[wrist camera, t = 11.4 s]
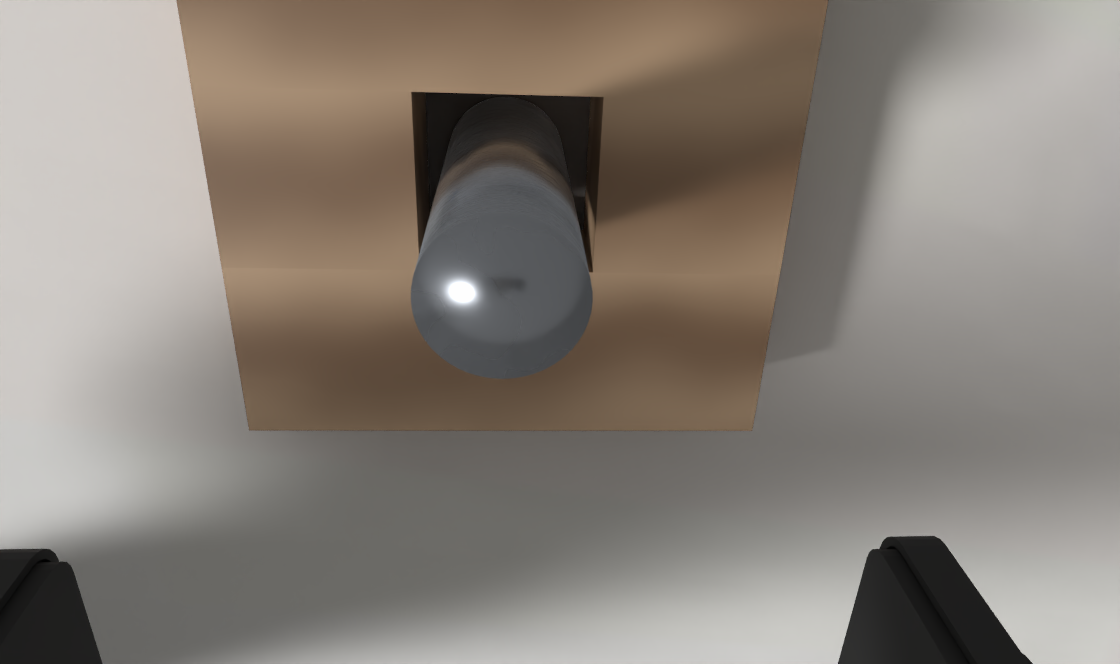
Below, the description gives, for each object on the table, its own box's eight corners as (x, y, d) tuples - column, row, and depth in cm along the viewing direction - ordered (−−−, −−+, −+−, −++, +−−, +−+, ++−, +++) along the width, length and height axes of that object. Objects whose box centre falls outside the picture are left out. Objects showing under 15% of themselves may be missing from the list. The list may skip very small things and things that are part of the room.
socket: (726, 375, 33) (752, 430, 30) (278, 372, 32) (249, 430, 28) (804, -131, 25) (852, -138, 21) (202, -159, 24) (147, -171, 20)
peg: (560, 210, 29) (587, 379, 19) (450, 208, 29) (414, 378, 19) (564, 98, 28) (598, 215, 17) (447, 95, 27) (405, 212, 17)
